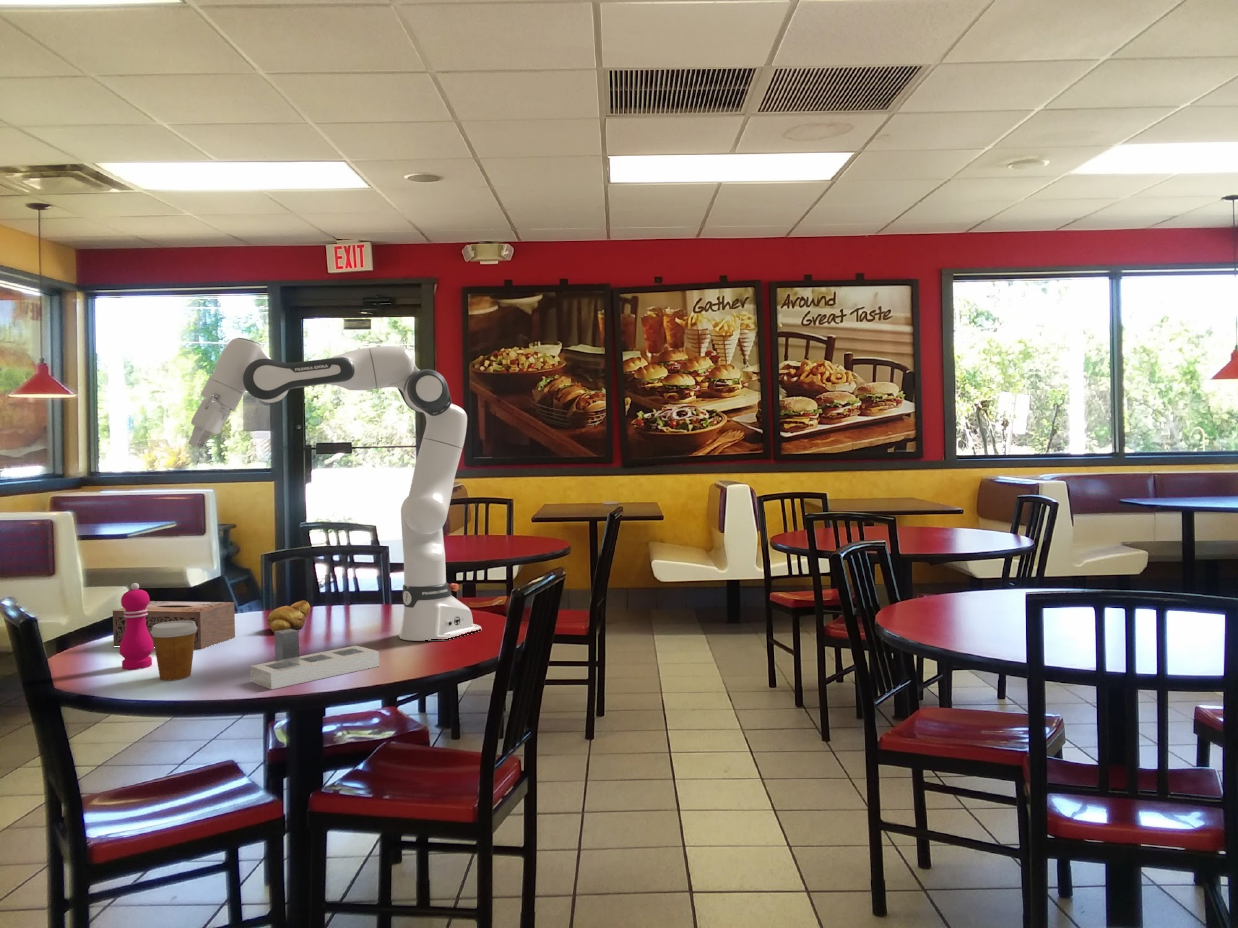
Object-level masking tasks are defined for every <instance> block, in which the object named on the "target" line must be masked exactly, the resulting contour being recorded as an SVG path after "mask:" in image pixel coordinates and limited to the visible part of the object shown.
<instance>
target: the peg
mask: <svg viewBox="0 0 1238 928" xmlns="http://www.w3.org/2000/svg"><path fill="white" fill-rule="evenodd" d="M299 633H300V632H299V630H298V629H297V630H293V629H286V630H280V631H274V632H273V634H274V661H279V660H284V659H289V658H294V657H299V656H300V641H299V640H300V637H299Z"/></svg>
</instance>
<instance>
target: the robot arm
mask: <svg viewBox="0 0 1238 928" xmlns="http://www.w3.org/2000/svg"><path fill="white" fill-rule="evenodd" d="M323 385H331V386H337V387H340V388H344V389H346V390H348V391H373V390H377V389H378V390H379V389H385V388H397V390H398V391H399V394H400V395H401V397H402V400H403V401H404V403H405V404H406V406H407V407H408V408H409V409H410V410H412V411H414V412H417V413H421V414H423V415H424V416H425V422H426V424H425V429H424V433H423V436H422V439H421V443H420V447H419V450H418V454H417V458H416V461H415V465H414V469H413V470H414V471H413V476H412V480H411V484H410V488H409V493H408V496H407V497H405V499H404V500H403V501H402V504H401V508H400V518H401V519H400V520H401V538H402V539H401V540H402V551H403V552H402V554H403V580H404V581H403V582H404V583H403V585H402V601H403V615H402V623H401V629H400V633H399V636H398V638H399V637H400V638H399V639H401V640H404V641H414V642H415V641H416V642H417V641H419V642H421V641H422V642H426V641H425V640H428V641H432V640H431V639H448V638H451V637H455V636H459V635H461V634H465V633H467V632H471V631H476V630H479V629H481V630H482V626H481V625H479V624H475V623H474V621H473V614H472V611H471V609H470V607H468V606H467V605H466V604H464V603H463V602H461V601H460V600H459V599H457V598H456V597H454V596H453V595H452V594H453V592H457V591H458V590H459V589H460V587H459V584H458V583H448V582H447V574H446V573H447V571H446V569H447V568H446V567H447V566H446V550H445V542H444V530H443V527H444V525H445V523H446V522H447V518H448V514H449V509H450V504H451V500H452V495H453V490H454V483H455V478H456V473H457V470H458V468H459V467H458V466H459V463H460V460H461V456H462V452H463V448H464V445H465V440H466V435H467V427H468V415H467V413H466V411H465V410H464V409H463V408H462V407H461V406H458V405H456V404H454V403H453V402H452V401H453V400H452V397H451V393H450V390H449V389H450V388H449V385H448V382H447V380H446V379H445V377H444V376H443V375H442V374H441V373H440V372H438V371H436V370H433V369H429V368H428V369H427V368H426V369H419V368H418V367H417V365H416V363H415V359H414V356H413V354H412V352H411V351H410V350H409V349H408V348H406V347H403V346H392V345H391V346H388V345H387V346H385V345H384V346H373V347H365V348H360V349H355V350H351V351H348V352H343V353H342V354H339V355H334V356H331V357H328V358H322V359H314V360H307V361H306V360H305V361H297V362H283V361H279V360H275V359H272V358H271V357H270V356H269V354H268V353H267V352H266V350H265V349H264V346H263V345H262V344H260V343H259V342H257V341H255V340H251V339H248V338H244V337H236V338H232V339H231V340H230V341H229V342H228V343H227V344H226V346H225V347H224V349H223V351H222V352H221V354H220V356H219V357H218V360H217V361H216V363H215V369H214V371H213V373H211V375H210V376H209V377H208V379H207V381H206V383H205V385H204V387H203V388H202V391H201V393H200V396H201V397H203V399H202V400H201V402H200V403H199V406H198V407H197V410H196V411H195V413H194V415H193V417H192V419H191V425H192V426H194V428H193V430H192V433H191V437H190V439H189V440H188V444H189V445H190V446H193V447H197V448H199V449H204V448H205V445H206V443H207V442H208V441H209V440H210V438H211V436H212V434H213V435H218V434H219V433H220V431H221V430H222V428H223V427H224V426H225V423H226V421H227V420H228V418H229V417H230V416H231V414H232V412H235V411H236V409H237V408H238V405H239V403H240V401H241V399H242V398H243V395H244V393H245V392H247V393H248V394H250V395H251V396H252V397H254V398H256V399H257V400H259V401H261V402H264V403H270V404H271V403H276V402H279V401H282V400H283V399H285V397H286V396H287V395H288V393H289V390H292V389H298V388H306V387H314V386H323ZM452 591H453V592H452Z"/></svg>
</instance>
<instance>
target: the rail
mask: <svg viewBox="0 0 1238 928" xmlns="http://www.w3.org/2000/svg"><path fill="white" fill-rule="evenodd" d="M377 666H378V667H380V651H379V650H376V649H372V648H367V647H363V646H359V645H351V646H348V647H342V648H337V649H331V650H326V651H320V652H316V653H315V652H314V653H310V654H305V655H299V657H294V658H289V659H284V660H279V661H275V660H274V661H269V662H263V663H258V664H253V665H249V672H250V675H249V676H250V677H249V680H250V681H249V682H251V683H252V684H256V685H258V686H261V687H263V688H267V689H269V690H276V689H281V688H285V687H290V686H294V685H299V684H303V683H309V682H313V681H318V680H321V679H327V678H330V677H331V678H332V677H335V676H340V675H345V674H351V673H354V672H359V671H364V670H368V668H369V669H373V668H376V667H377Z"/></svg>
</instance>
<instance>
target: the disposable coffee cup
mask: <svg viewBox="0 0 1238 928" xmlns="http://www.w3.org/2000/svg"><path fill="white" fill-rule="evenodd" d="M197 628H198V627H196V624H195V622H194V621H171V622H164V623H159V624H156V625H153V628H152V631H151V634H152V636H153V639H154V646H155V648H154V651H155V657H156V663H157V668H158V674H159V679H160V680H162V681H178V680H183V679H187V678H189V677H191V676H192V670H193V669H192V666H193V658H194V657H193V656H194V650H195V649H194V641H195V632H196V630H197Z"/></svg>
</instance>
